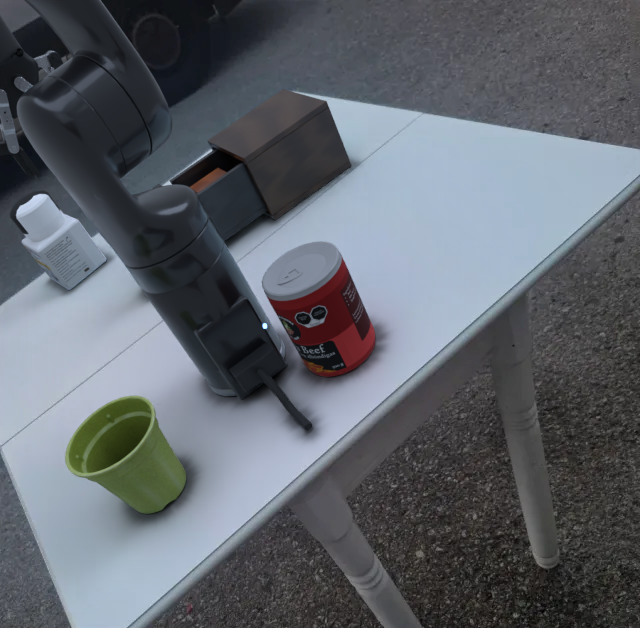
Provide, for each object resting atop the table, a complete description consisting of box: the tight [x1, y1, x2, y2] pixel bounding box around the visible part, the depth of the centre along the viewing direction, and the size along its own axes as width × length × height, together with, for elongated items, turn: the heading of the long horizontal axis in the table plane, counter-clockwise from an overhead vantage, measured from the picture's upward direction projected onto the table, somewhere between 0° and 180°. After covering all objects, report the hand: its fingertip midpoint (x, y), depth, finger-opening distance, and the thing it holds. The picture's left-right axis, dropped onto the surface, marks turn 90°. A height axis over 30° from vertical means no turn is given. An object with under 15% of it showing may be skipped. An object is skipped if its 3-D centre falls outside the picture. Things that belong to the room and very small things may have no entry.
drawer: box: [152, 149, 268, 242], centre depth 98 cm, size 17×11×8 cm
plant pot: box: [64, 394, 187, 515], centre depth 67 cm, size 9×9×9 cm
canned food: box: [261, 240, 376, 378], centre depth 69 cm, size 8×8×11 cm
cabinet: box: [207, 88, 353, 221], centre depth 100 cm, size 14×13×10 cm
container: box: [9, 189, 107, 291], centre depth 107 cm, size 8×8×13 cm
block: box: [190, 168, 227, 194], centre depth 99 cm, size 5×5×5 cm
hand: (60, 162), depth 86 cm, fingers open, 5 cm apart
